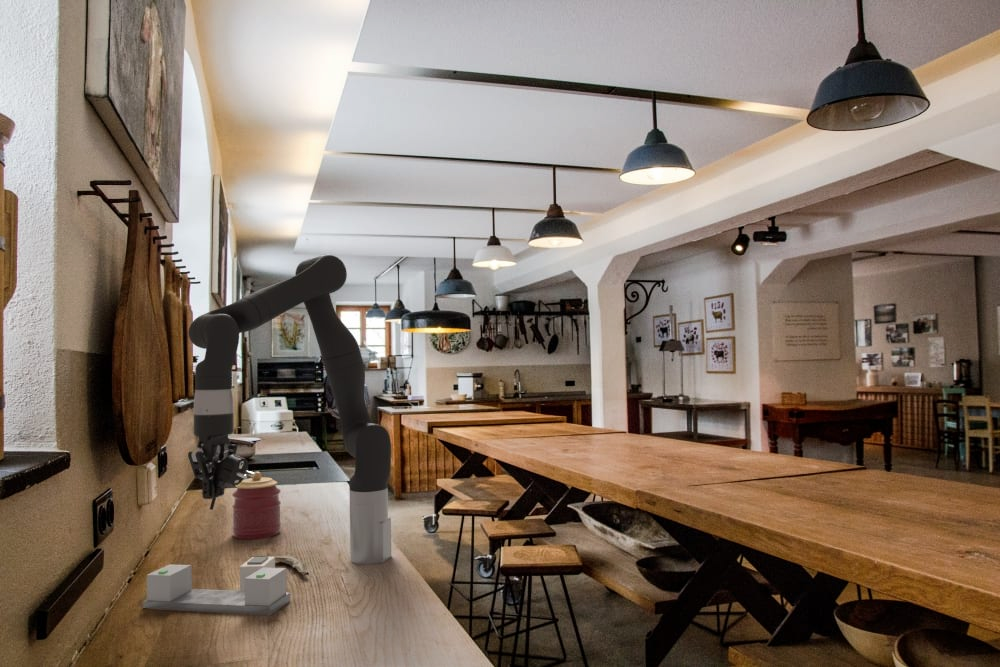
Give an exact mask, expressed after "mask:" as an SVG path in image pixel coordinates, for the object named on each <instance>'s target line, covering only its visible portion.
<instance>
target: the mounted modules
mask: <svg viewBox="0 0 1000 667" xmlns="http://www.w3.org/2000/svg"><path fill="white" fill-rule="evenodd" d="M192 589H193V588H192V565H191V564H171V563H169V564H167V565H165V566H164V567H161V568H158V569H156V570H155V571H152V572H150V573H148V574H146V599H147V600H148V601H171V600H173V599H175V598H177V597H179V596H181V595H183V594H184V593H186V592H188V591H190V590H192ZM286 592H287V568H286V567H275V568H265V567H263V568H261V569H260V570H258V571H256V572H255V573H253V574H251V575H249V576H248V577H246V578H245V605H265V606H269V605H271V604H272V603H274V602H275V601H276V600H278V599H279V598H281V597H282V596H283V595H285V594H286Z"/></svg>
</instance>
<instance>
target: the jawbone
mask: <svg viewBox="0 0 1000 667" xmlns="http://www.w3.org/2000/svg"><path fill="white" fill-rule="evenodd" d="M252 557H271V556H268V555H264V554H262V555H250V558H252ZM274 557H275V562H281V563H284V564H287V565H290V566H291V567H292V568H294V569H296V570H297V571H298V572H299V573H300V574H301V575H302V576H303V577H304V576H308V575H310V573H309V572H308V570H305V568H306V565H305V562H304V561H302V560H300V559H298V558H296V557H295V556H294V555H291V554H289V555H288V554H287V555H277V556H274Z"/></svg>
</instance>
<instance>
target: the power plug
mask: <svg viewBox="0 0 1000 667" xmlns="http://www.w3.org/2000/svg"><path fill="white" fill-rule="evenodd" d="M217 466H218V467H217V468H215V476H214V479H213V480H215V496H214V498H212V499H211V502H210V506H209V510H210V511H212V510H214V507H215V504H216V499H217V498H218V497H220V496H219V495H220V494H219V493H221V491H222V489H221V488H223V486H224V487H225V484H228V485H230V486H233V487H234V486H236V485H238V484H240V483H241V482H242V481H243V480H244V479H248V476H249V477H251V478H252V477H254V476H255V474H254V472H253V471H249V461H248V459H247V458H244V457H241V456H239V455H237V454H235V455H230V456H227V457H226V458H225V459H223V460H222V461H220V462H218V463H217Z"/></svg>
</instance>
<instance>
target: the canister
mask: <svg viewBox="0 0 1000 667" xmlns="http://www.w3.org/2000/svg"><path fill="white" fill-rule="evenodd" d="M253 473H254V474H255V476H254V477H252V476H251V478H246V479H243V481H242V482H241V483H240V484H238V485H235V488H236V490H235V491H234V492H232V497H233V499H234V500H233V505H232V520H233V521H232V524H233V525H232V534H233V538H235V539H238V540H257V539H258V540H259V539H266V538H270V537H274V536H276V535H278V534H280V532H281V528H282V523H281V502H282V501H281V500H280V496H279V494H280V493H281V489H280V488H278V487H277V485H278V481H276V480H274V479H273V478H272V477H268V476H267V477H266V476H265V477H264V476H263V477H262V473H261V472H260V471H254V472H253Z"/></svg>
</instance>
